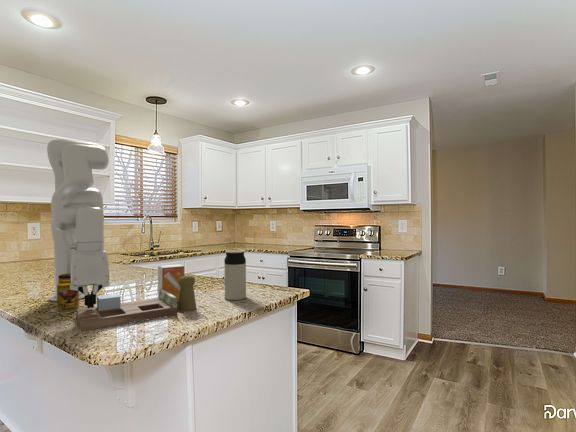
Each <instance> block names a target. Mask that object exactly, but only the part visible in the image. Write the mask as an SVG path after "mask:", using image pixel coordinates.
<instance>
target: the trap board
mask: <svg viewBox="0 0 576 432" xmlns="http://www.w3.org/2000/svg"><path fill="white" fill-rule="evenodd" d="M177 315H178V302H177V297H175V296H174V295H172V294H170V293H169V292H167V291H165V290H163V289H159V298H158V297H155V298H148V299H142V300H141V299H140V300H135V301H127V302H126V301H125V302H121V308H115V309H108V310H101V311H99V310H98V308H97V305H95V306H94V308H87V307H85V308H82V309H77V311H76V319H77V322H78V324H79V327H80V330H81V332H84V331H90V330H96V329H101V328H108V327H113V326H119V324H120V325H124V324H123V323H126V324H130V323H129V322H132V323H135V322H134V321H138V322H142V320H144V321H148V320H147V319H149V320H154V319H153V318H155V319H160V318H159V317H161V318H165V316H167V317H172V316H177Z"/></svg>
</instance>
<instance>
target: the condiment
mask: <svg viewBox="0 0 576 432" xmlns="http://www.w3.org/2000/svg"><path fill="white" fill-rule="evenodd" d="M58 278H59V280H58V282H59V283H58V284H57V301H56V302H57V303H56V306H57V308H54V309H51V310H47V312H49V313H50V312H51V313H57V314H63V315H64V314H69V313H73V312H77V309H82V308H86V307H83V306H79V305H80V304H79V301H80V299H79V291H77V290H70V284H71V273H70V274H62V275H59V276H58Z"/></svg>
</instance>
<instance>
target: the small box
mask: <svg viewBox="0 0 576 432" xmlns="http://www.w3.org/2000/svg"><path fill="white" fill-rule="evenodd" d="M183 276H185V265H183V264H180V263H179V264H165V265H158V266H157V298H159V289H163V290H165V291H167V292H169V293H170V294H172V295H174V296H175V297H177V303H179V295H180V287H181V286H180V285H179V279H180V278H181V277H183Z"/></svg>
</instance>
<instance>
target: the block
mask: <svg viewBox="0 0 576 432" xmlns="http://www.w3.org/2000/svg"><path fill="white" fill-rule="evenodd" d="M121 301H122V300H121V295H120V294H119V293H114V294H113V293H111V294H106V295H104V294H103V295H96V306H97V308H98V310H99V311H101V310H108V309H115V308H121V303H122V302H121Z"/></svg>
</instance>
